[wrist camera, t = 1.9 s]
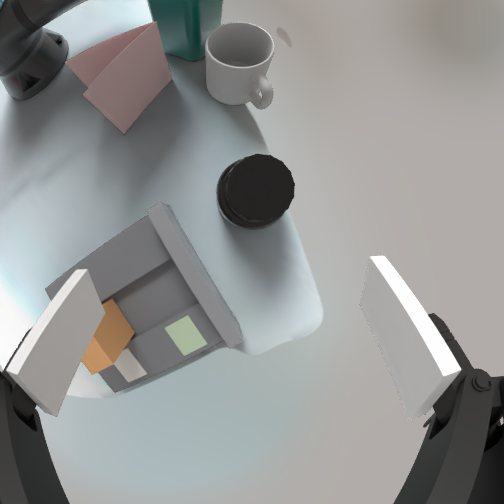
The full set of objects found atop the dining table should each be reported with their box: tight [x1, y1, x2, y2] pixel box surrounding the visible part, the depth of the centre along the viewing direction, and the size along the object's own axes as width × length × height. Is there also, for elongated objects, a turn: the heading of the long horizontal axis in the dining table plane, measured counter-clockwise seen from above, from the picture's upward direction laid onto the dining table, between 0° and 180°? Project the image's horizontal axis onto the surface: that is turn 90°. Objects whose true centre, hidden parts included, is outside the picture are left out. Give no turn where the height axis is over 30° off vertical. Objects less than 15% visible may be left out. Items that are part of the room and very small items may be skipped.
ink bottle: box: [216, 154, 295, 230], centre depth 32 cm, size 10×9×12 cm
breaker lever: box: [81, 298, 135, 375], centre depth 31 cm, size 4×6×10 cm, turn 29°
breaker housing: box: [45, 202, 243, 393], centre depth 34 cm, size 24×20×6 cm
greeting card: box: [64, 21, 172, 134], centre depth 27 cm, size 11×7×15 cm, turn 109°
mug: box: [205, 22, 275, 109], centre depth 31 cm, size 12×8×11 cm
